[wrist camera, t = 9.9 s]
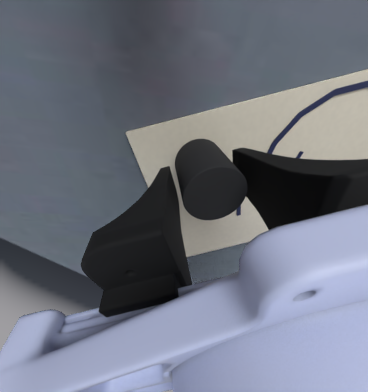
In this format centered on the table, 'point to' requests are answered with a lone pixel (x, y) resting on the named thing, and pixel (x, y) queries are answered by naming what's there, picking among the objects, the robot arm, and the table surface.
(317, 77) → the table surface
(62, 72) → the table surface
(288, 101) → the drawing card
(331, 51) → the table surface
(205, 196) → the black cylinder
